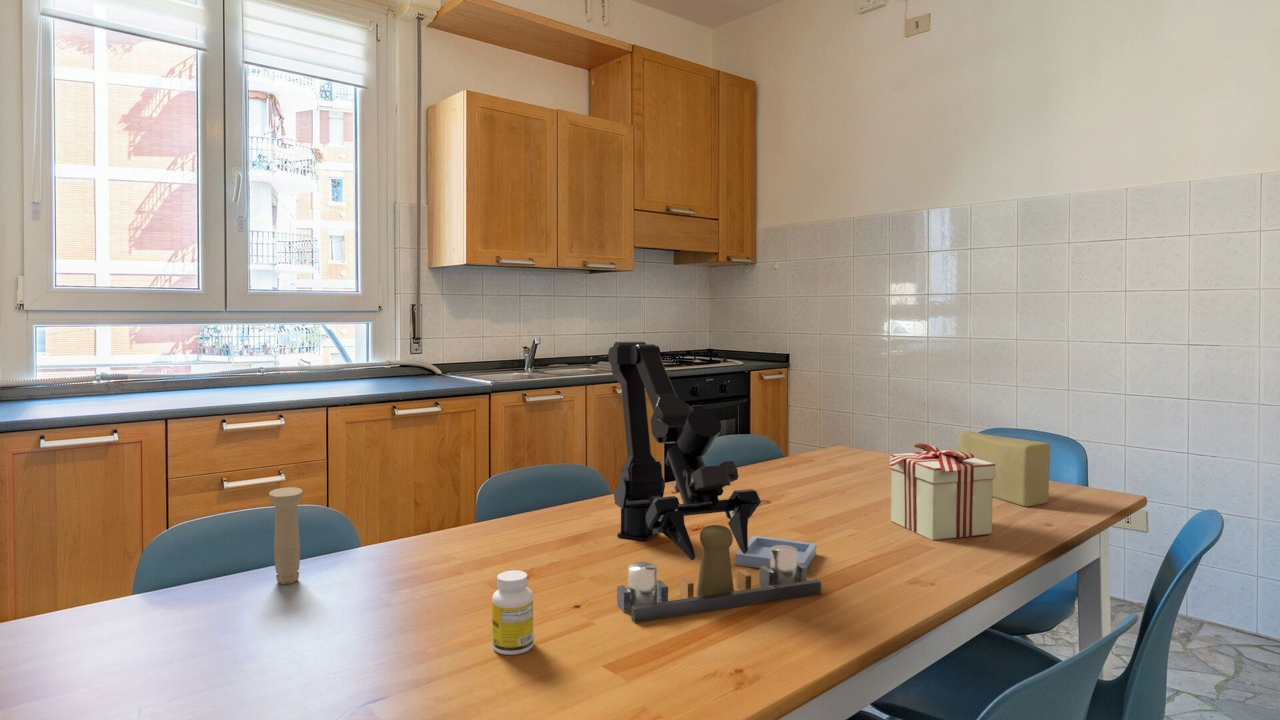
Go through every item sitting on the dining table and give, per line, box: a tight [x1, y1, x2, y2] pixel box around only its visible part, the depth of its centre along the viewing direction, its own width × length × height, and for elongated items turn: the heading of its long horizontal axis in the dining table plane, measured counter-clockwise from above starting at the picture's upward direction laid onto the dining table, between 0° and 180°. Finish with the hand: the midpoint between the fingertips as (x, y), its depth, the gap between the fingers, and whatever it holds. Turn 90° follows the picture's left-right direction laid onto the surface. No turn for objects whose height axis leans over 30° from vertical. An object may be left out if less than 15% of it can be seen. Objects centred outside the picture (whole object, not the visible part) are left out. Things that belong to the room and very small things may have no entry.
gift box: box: [888, 442, 995, 541], centre depth 155 cm, size 17×18×17 cm
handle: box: [268, 486, 303, 585], centre depth 122 cm, size 5×6×15 cm
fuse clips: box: [616, 545, 822, 624], centre depth 116 cm, size 8×32×6 cm, turn 112°
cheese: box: [956, 430, 1051, 508], centre depth 185 cm, size 22×10×15 cm, turn 30°
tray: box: [735, 535, 817, 569], centre depth 135 cm, size 12×12×2 cm
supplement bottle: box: [491, 570, 534, 656], centre depth 99 cm, size 5×5×10 cm
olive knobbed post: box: [696, 524, 735, 597], centre depth 118 cm, size 6×6×11 cm
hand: (720, 555), depth 117 cm, fingers open, 9 cm apart
